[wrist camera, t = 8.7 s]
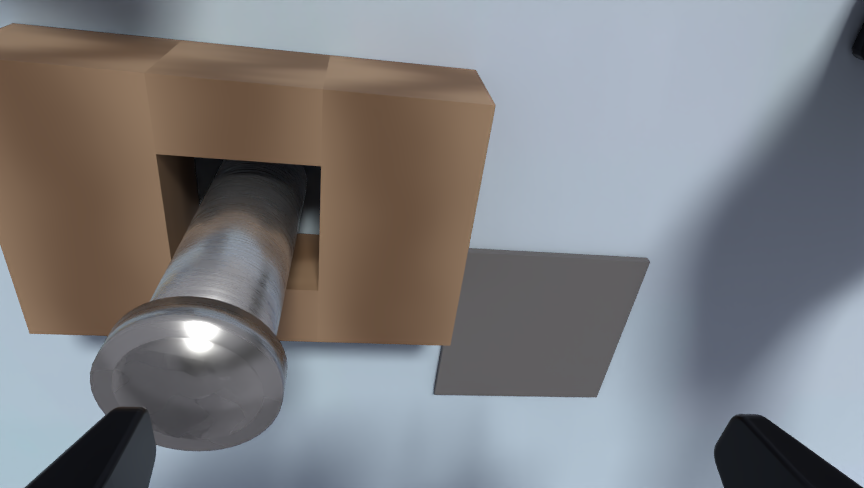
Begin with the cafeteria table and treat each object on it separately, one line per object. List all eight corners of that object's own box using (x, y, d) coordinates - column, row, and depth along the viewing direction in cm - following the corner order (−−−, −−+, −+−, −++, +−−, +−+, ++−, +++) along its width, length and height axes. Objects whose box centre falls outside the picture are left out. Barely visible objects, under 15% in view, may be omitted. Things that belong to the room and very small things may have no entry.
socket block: (475, 69, 19) (495, 105, 16) (440, 287, 24) (450, 345, 21) (12, 23, 17) (-63, 54, 14) (75, 271, 22) (29, 333, 19)
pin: (319, 133, 19) (281, 325, 11) (317, 228, 21) (284, 451, 13) (204, 124, 19) (72, 318, 11) (213, 222, 21) (107, 450, 13)
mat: (647, 258, 24) (650, 261, 23) (594, 392, 28) (596, 397, 28) (459, 247, 23) (460, 251, 22) (433, 389, 27) (434, 394, 27)
